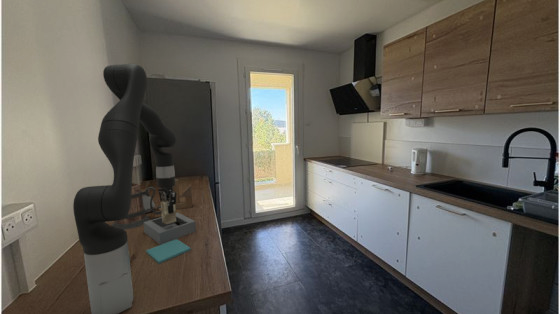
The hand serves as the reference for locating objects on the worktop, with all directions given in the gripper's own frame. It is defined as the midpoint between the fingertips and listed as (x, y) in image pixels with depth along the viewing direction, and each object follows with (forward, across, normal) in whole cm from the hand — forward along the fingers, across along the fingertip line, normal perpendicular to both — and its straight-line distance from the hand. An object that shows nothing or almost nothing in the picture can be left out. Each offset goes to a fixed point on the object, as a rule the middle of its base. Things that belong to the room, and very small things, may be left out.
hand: (168, 211), depth 105 cm
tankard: (+10, -26, -5) cm, 28 cm away
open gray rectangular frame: (+10, 0, 0) cm, 10 cm away
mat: (+10, +17, -8) cm, 21 cm away
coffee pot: (+10, -44, +5) cm, 46 cm away
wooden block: (+10, -28, +20) cm, 36 cm away
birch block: (+5, 0, 0) cm, 5 cm away
